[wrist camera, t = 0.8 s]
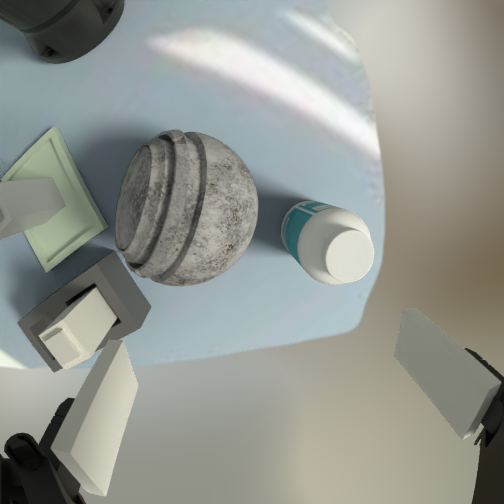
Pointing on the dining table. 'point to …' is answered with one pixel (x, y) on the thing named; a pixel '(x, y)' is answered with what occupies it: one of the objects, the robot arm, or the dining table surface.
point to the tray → (73, 193)
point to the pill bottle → (328, 242)
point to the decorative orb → (185, 209)
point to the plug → (27, 204)
